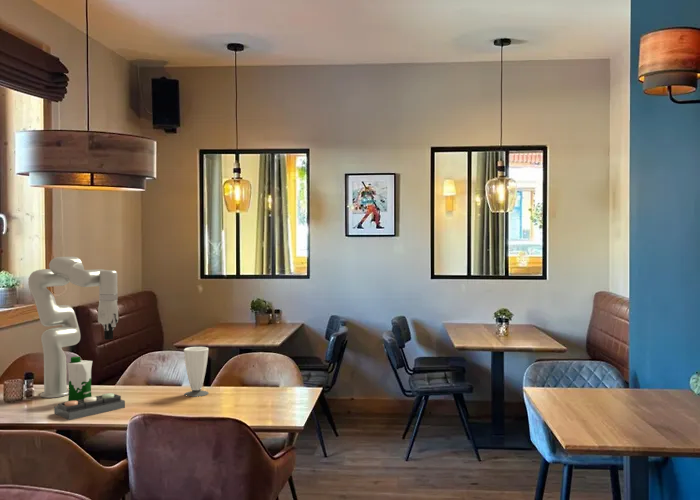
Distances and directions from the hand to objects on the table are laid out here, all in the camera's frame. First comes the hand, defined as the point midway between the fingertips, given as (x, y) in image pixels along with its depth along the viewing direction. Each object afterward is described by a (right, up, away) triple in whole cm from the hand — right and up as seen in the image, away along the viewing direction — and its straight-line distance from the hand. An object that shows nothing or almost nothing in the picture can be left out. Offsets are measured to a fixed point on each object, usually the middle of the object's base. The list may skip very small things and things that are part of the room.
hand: (108, 339), depth 262 cm
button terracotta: (-9, -26, -15) cm, 32 cm away
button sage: (+1, -26, -3) cm, 26 cm away
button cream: (-4, -26, -9) cm, 28 cm away
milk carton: (-15, -29, +5) cm, 33 cm away
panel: (-4, -29, -9) cm, 31 cm away
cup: (+34, -29, +19) cm, 48 cm away
